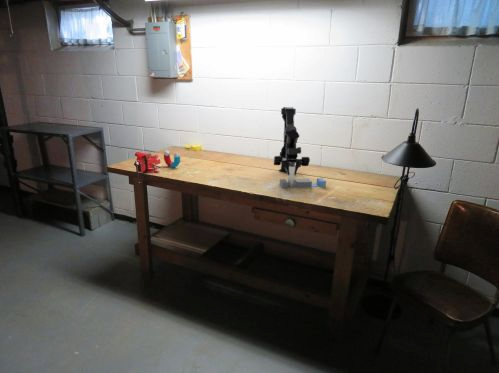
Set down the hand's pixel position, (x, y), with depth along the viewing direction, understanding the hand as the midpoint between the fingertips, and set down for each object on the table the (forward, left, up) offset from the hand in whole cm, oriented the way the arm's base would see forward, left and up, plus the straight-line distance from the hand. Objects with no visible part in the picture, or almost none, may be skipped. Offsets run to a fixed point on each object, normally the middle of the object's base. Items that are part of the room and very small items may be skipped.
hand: (291, 174), depth 187 cm
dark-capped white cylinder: (-1, -1, -7) cm, 7 cm away
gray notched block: (-6, +4, -8) cm, 10 cm away
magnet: (+9, -79, -8) cm, 80 cm away
